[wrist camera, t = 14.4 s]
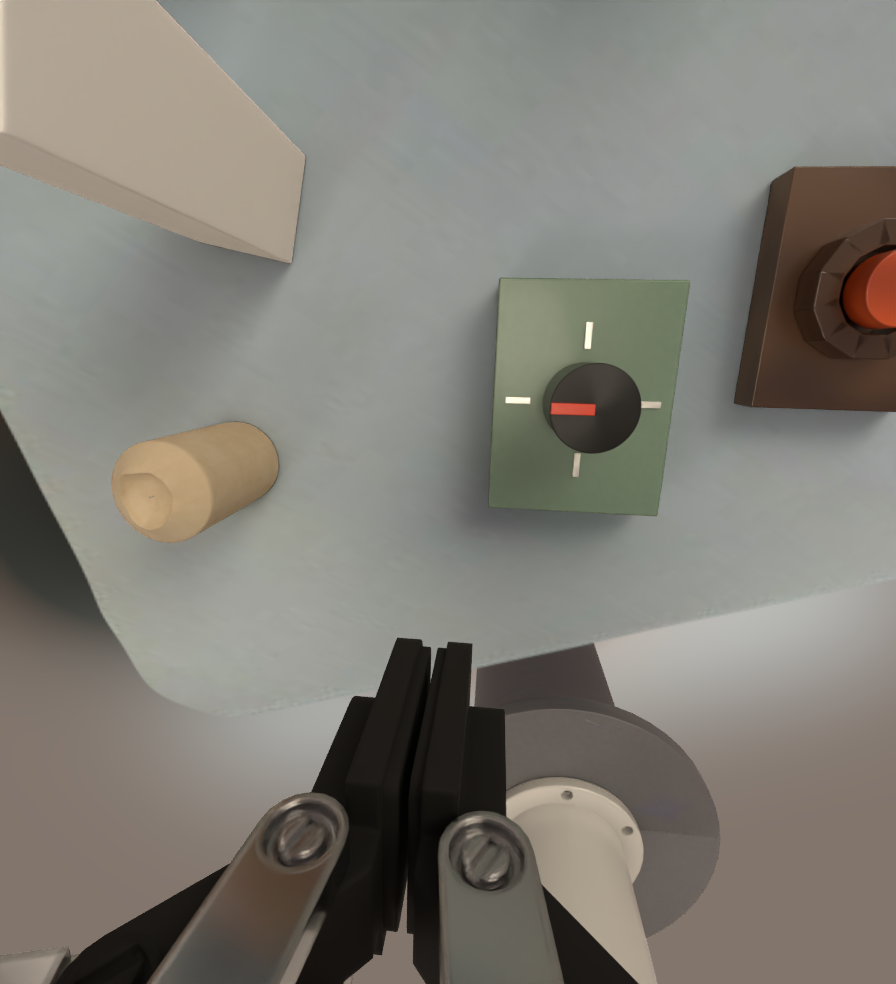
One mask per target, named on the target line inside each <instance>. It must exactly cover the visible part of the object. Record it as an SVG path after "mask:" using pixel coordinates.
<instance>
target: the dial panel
mask: <svg viewBox="0 0 896 984" xmlns="http://www.w3.org/2000/svg"><path fill="white" fill-rule="evenodd" d="M689 287H690V281H689V280H627V279H556V278H500V279H499V293H498V314H497V334H496V355H495V375H494V395H493V416H492V436H491V457H490V477H489V497H488V507H491V508H510V509H529V510H548V511H567V512H586V513H605V514H624V515H643V516H657V515H658V508H659V500H660V493H661V486H662V479H663V472H664V465H665V458H666V451H667V443H668V436H669V429H670V422H671V415H672V408H673V401H674V393H675V386H676V379H677V372H678V365H679V358H680V351H681V344H682V336H683V329H684V322H685V315H686V308H687V301H688V294H689ZM580 362H591V363H606V364H610V365H613V366H616V367H618V368H620V369H622V370H623V371H625V372H626V373H627V374H628V375H629V376H630V377H631V378H632V379H633V380H634V382H635V383H636V385H637V387H638V390H639V392H640V396H641V404H642V406H641V415H640V419H639V422H638V424H637V426H636V428H635V430H634V431H633V433H632V434H631V435H630V437H629V438H628V439H627V440H626V441H625V442H623V443H622V444H621V445H619V446H618V447H616V448H614V449H612V450H610V451H607V452H603V453H597V454H589V453H583V452H579V451H576V450H574V449H572V448H570V447H568V446H567V445H565V444H564V443H563V442H562V441H561V440H560V439H559V438H558V436H557V435H556V434H555V432H554V431H553V430H552V428H551V427H550V426H549V424H548V422H547V421H546V418H545V416H544V412H543V396H544V392H545V390H546V387H547V385H548V383H549V382H550V380H551V379H552V378H553V377H554V375H555V374H556V373H558V372H559V371H560V370H562V369H563V368H565V367H567V366H569V365H572V364H575V363H580Z"/></svg>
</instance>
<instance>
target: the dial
mask: <svg viewBox="0 0 896 984" xmlns="http://www.w3.org/2000/svg"><path fill="white" fill-rule="evenodd" d="M641 406H642V404H641V396H640V392H639V390H638V387H637V385H636V383H635V382H634V380H633V379H632V378H631V377H630V376H629V375H628V374H627V373H626V372H625V371H623V370H622V369H620V368H618V367H616V366H613V365H610V364H606V363H591V362H580V363H575V364H572V365H569V366H567V367H565V368H563V369H562V370H560V371H559V372H558V373H556V374H555V375H554V377H553V378H552V379H551V380H550V382H549V383H548V385H547V387H546V390H545V392H544V396H543V412H544V416H545V418H546V421H547V422H548V424H549V426H550V427H551V428H552V430H553V431H554V432H555V434H556V435H557V436H558V438H559V439H560V440H561V441H562V442H563V443H564V444H565V445H567V446H568V447H570V448H572V449H574V450H576V451H579V452H583V453H589V454H597V453H603V452H607V451H610V450H612V449H614V448H616V447H618V446H619V445H621V444H622V443H623V442H625V441H626V440H627V439H628V438H629V437H630V435H631V434H632V433H633V431H634V430H635V428H636V426H637V424H638V422H639V419H640V415H641Z"/></svg>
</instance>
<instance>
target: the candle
mask: <svg viewBox="0 0 896 984" xmlns="http://www.w3.org/2000/svg"><path fill="white" fill-rule="evenodd" d="M278 468H279V463H278V456H277V453H276V450H275V448H274V446H273V444H272V442H271V441H270V440H269V438H268V437H267V436H266V435H265V434H264V433H263V432H262V431H260V430H259V429H257V428H256V427H254V426H252V425H249V424H246V423H241V422H227V423H222V424H217V425H213V426H208V427H204V428H200V429H196V430H191V431H187V432H183V433H179V434H175V435H170V436H166V437H162V438H158V439H153V440H149V441H145V442H141V443H138V444H135V445H133V446H132V447H130V448H128V449H127V450H126V451H125V452H124V453H123V454H122V455H121V456H120V457H119V459H118V460H117V462H116V464H115V467H114V470H113V474H112V492H113V497H114V500H115V503H116V505H117V507H118V510H119V511H120V513H121V515H122V516H123V517H124V519H125V520H126V521H127V522H128V523H129V524H130V525H131V526H132V527H133V528H134V529H135V530H136V531H138V532H139V533H141V534H142V535H144V536H146V537H148V538H150V539H153V540H156V541H160V542H167V543H175V542H181V541H184V540H187V539H189V538H192V537H193V536H195V535H197V534H198V533H200V532H202V531H204V530H205V529H207V528H209V527H210V526H212V525H214V524H216V523H217V522H219V521H221V520H222V519H224V518H226V517H228V516H229V515H231V514H233V513H234V512H236V511H238V510H239V509H241V508H243V507H245V506H246V505H248V504H250V503H251V502H253V501H255V500H256V499H258V498H260V497H261V496H263V495H264V494H265V493H266V492H268V491H269V489H270V488H271V487H272V486H273V484H274V482H275V480H276V478H277V474H278Z"/></svg>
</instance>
